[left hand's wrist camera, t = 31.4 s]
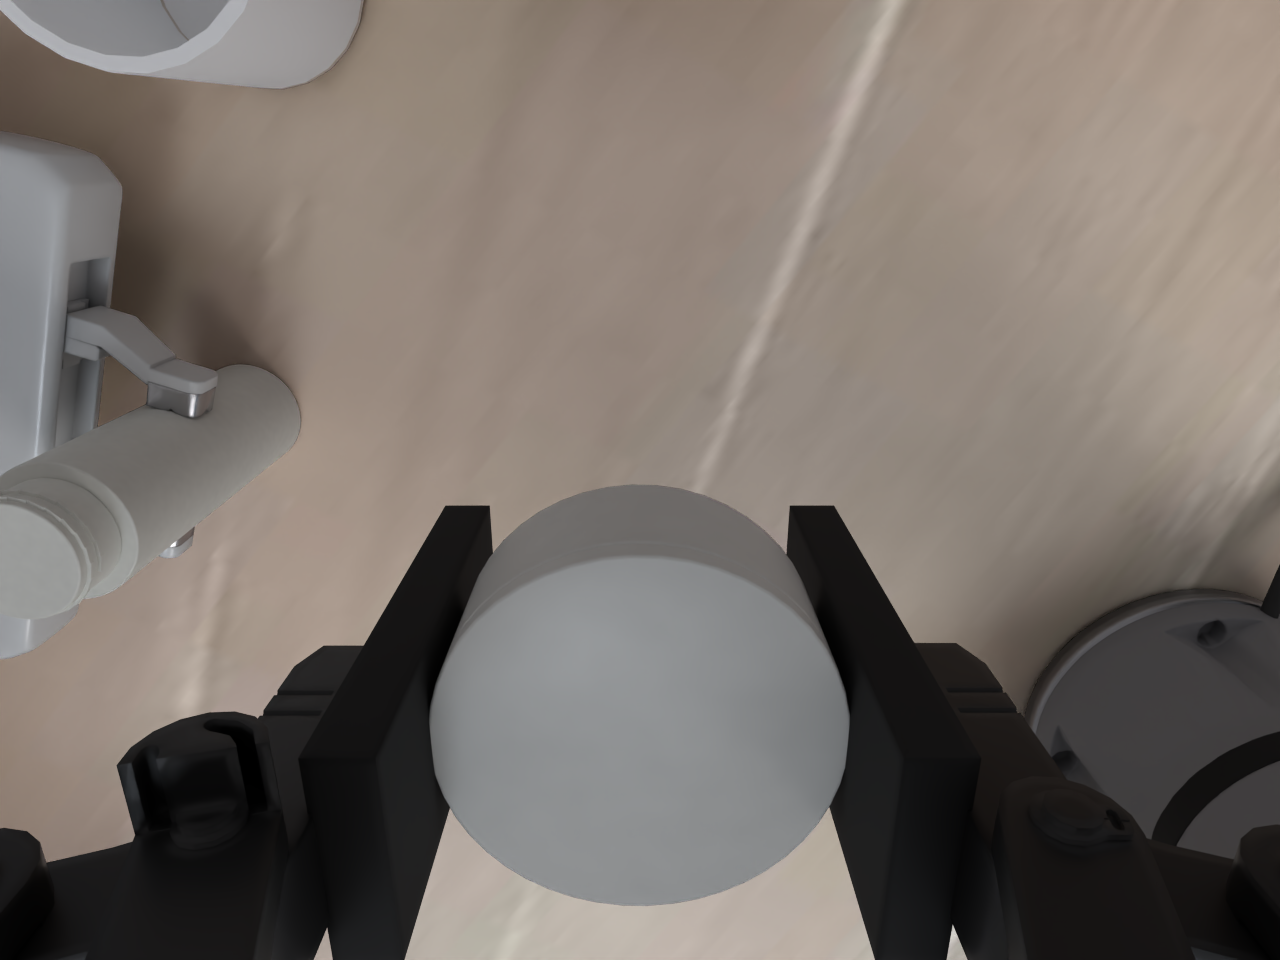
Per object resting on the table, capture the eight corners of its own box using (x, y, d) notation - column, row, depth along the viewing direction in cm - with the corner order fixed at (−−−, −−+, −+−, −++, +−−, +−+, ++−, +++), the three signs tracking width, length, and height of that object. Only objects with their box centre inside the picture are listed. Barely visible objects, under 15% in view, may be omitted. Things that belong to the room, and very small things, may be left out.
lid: (410, 541, 12) (357, 625, 10) (765, 437, 11) (795, 501, 9) (533, 818, 13) (513, 944, 11) (846, 739, 13) (888, 854, 11)
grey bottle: (315, 393, 38) (116, 531, 23) (281, 478, 39) (74, 658, 25) (216, 346, 37) (-54, 459, 23) (185, 434, 39) (-87, 594, 24)
